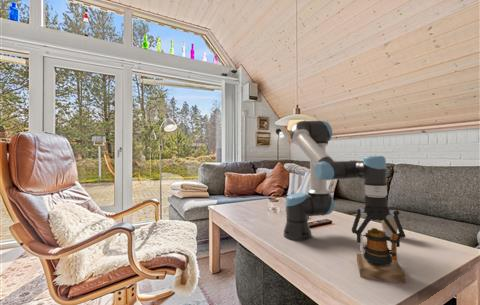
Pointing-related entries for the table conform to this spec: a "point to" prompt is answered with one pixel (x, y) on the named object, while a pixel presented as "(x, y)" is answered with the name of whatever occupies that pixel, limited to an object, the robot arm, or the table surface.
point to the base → (380, 270)
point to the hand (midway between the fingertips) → (377, 253)
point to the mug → (379, 247)
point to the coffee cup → (391, 221)
